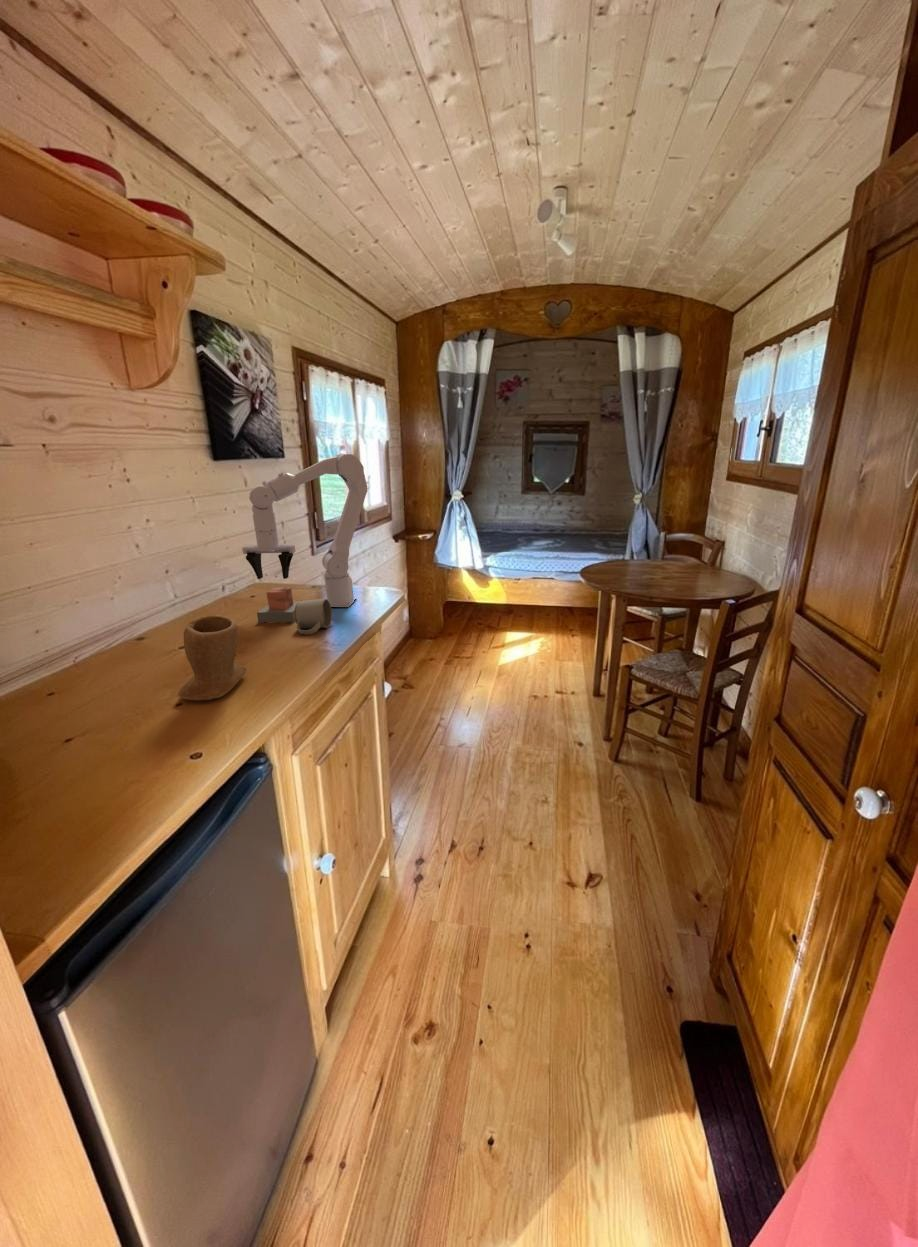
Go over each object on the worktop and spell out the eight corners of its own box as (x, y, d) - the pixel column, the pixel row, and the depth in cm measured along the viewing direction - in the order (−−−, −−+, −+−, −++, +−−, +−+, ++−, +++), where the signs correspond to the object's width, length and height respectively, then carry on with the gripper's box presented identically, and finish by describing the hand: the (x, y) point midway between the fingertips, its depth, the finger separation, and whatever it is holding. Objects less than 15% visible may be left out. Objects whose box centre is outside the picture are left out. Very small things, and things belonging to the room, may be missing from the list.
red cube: (276, 604, 156) (274, 587, 155) (293, 604, 156) (291, 587, 154) (269, 609, 152) (266, 592, 150) (286, 609, 151) (283, 592, 149)
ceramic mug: (304, 622, 149) (300, 595, 146) (333, 622, 148) (330, 595, 146) (290, 636, 139) (285, 607, 136) (321, 636, 138) (317, 607, 136)
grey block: (273, 613, 160) (271, 602, 159) (306, 613, 159) (304, 601, 158) (258, 624, 150) (256, 612, 149) (293, 624, 150) (291, 612, 148)
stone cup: (232, 705, 102) (218, 629, 98) (171, 705, 103) (154, 631, 98) (263, 672, 117) (252, 605, 112) (209, 673, 117) (195, 607, 112)
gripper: (234, 533, 148) (242, 581, 152) (285, 532, 147) (292, 581, 151) (246, 529, 155) (253, 576, 159) (295, 528, 153) (301, 575, 158)
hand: (273, 578), depth 155 cm, fingers open, 7 cm apart
